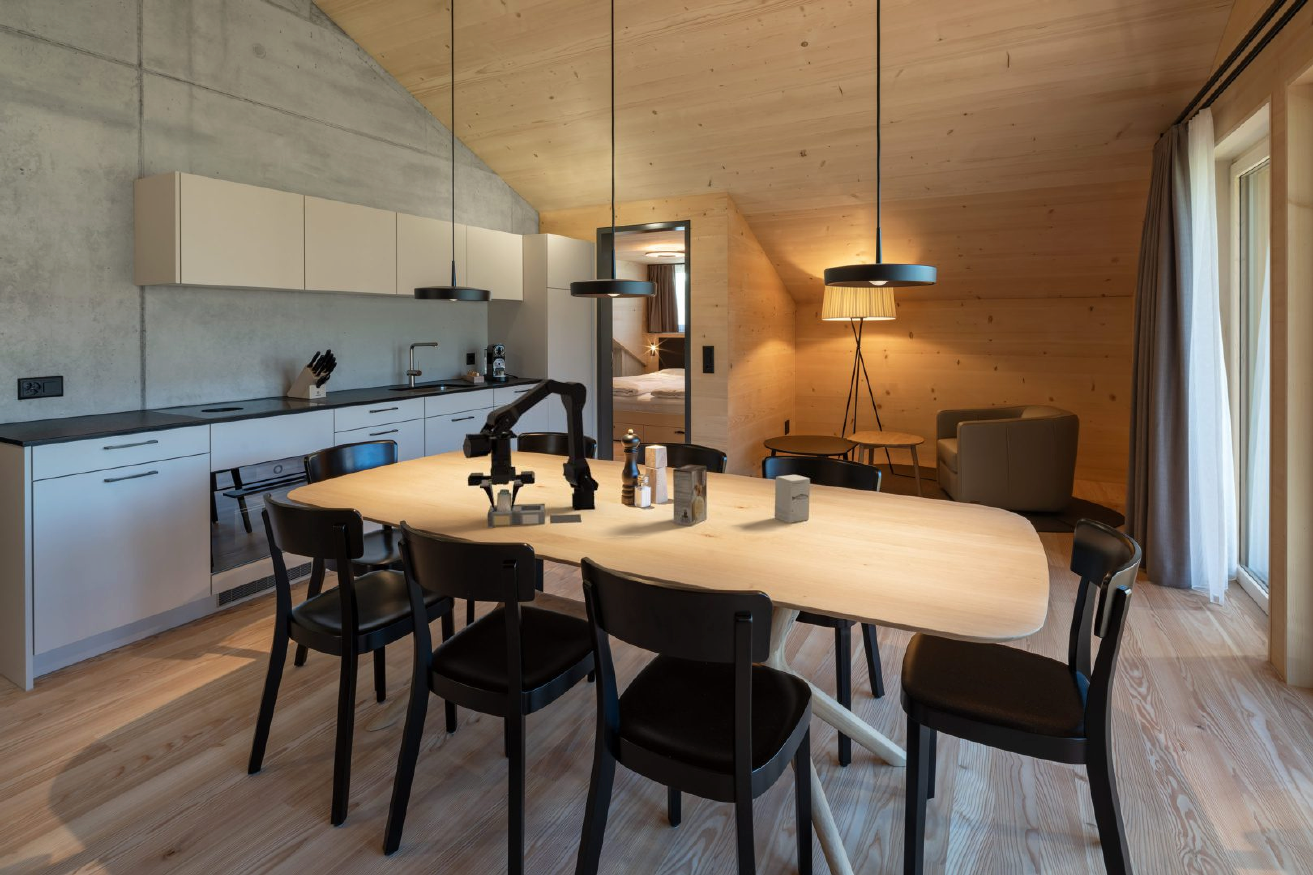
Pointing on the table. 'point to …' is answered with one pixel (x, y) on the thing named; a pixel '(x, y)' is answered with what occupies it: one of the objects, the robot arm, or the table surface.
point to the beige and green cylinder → (503, 500)
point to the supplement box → (792, 498)
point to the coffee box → (690, 494)
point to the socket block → (517, 515)
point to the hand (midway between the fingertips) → (503, 507)
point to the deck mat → (565, 518)
